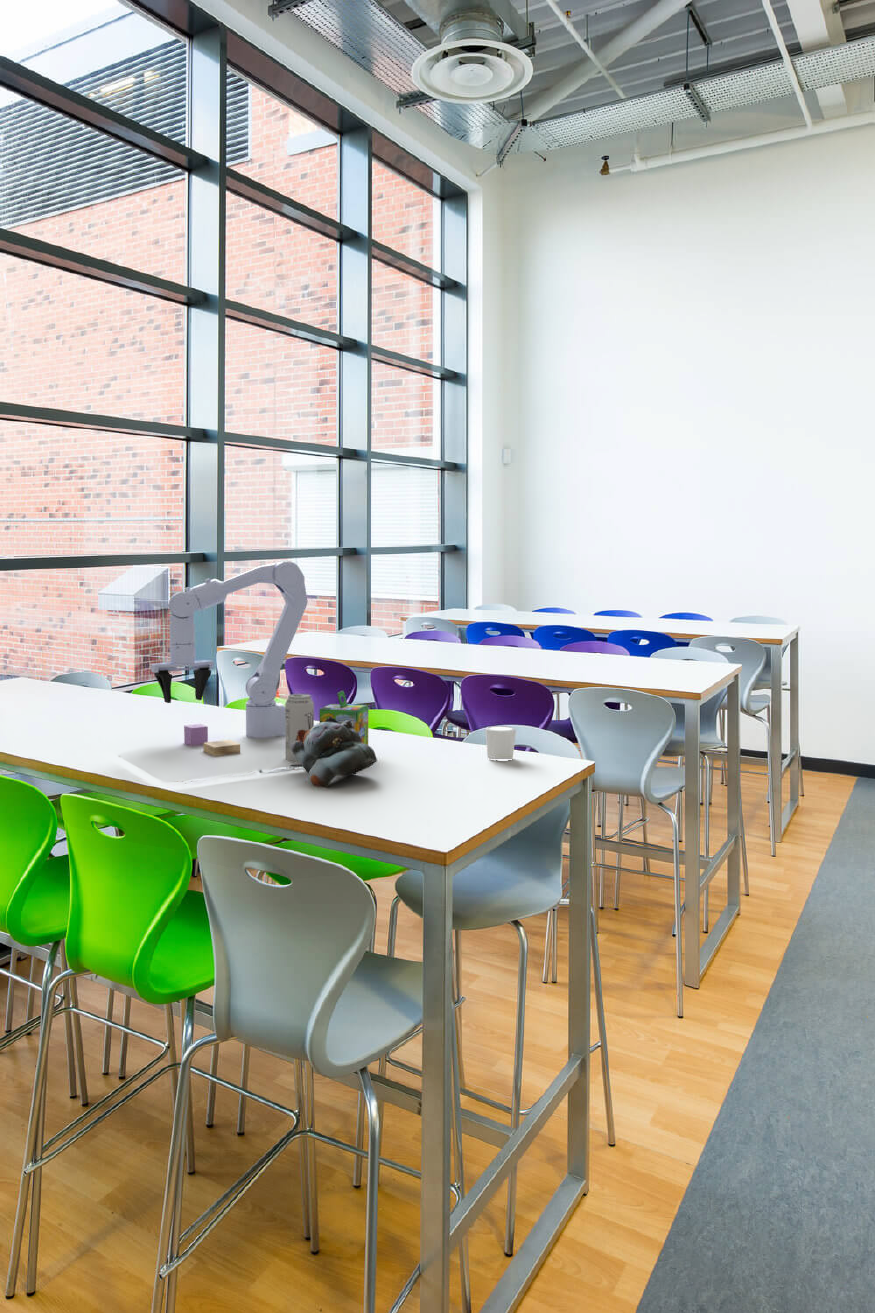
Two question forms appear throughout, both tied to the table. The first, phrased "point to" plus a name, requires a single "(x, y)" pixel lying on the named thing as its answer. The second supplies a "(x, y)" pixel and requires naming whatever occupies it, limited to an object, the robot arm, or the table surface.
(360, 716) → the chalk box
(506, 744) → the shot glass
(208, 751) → the oak tile
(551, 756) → the table surface
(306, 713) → the energy drink can
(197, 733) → the purple block
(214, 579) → the robot arm
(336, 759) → the grey stuffed animal
